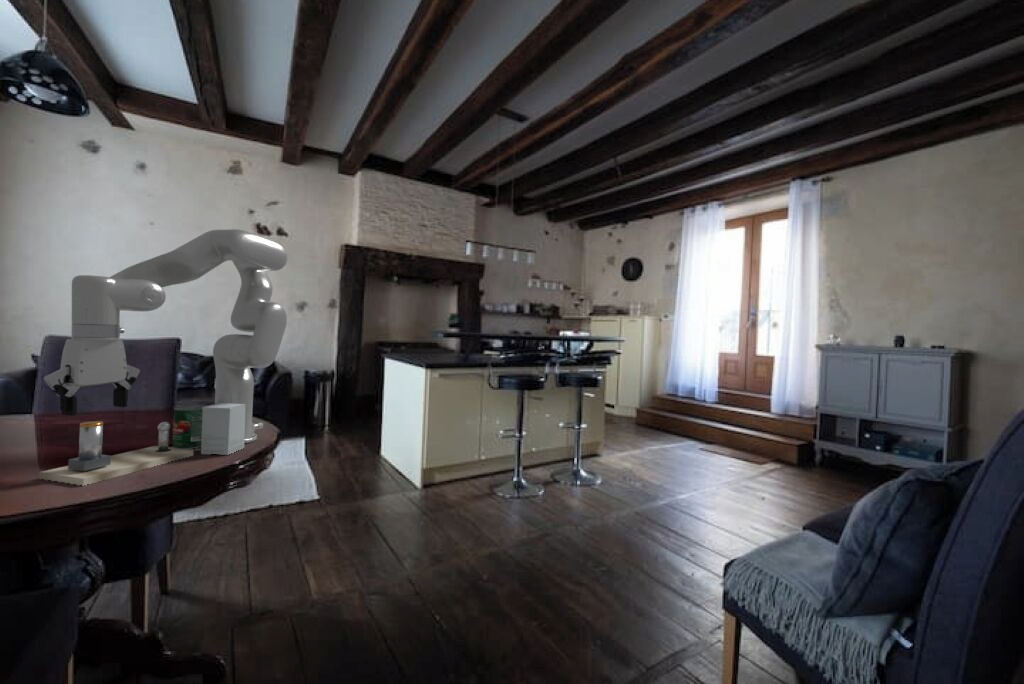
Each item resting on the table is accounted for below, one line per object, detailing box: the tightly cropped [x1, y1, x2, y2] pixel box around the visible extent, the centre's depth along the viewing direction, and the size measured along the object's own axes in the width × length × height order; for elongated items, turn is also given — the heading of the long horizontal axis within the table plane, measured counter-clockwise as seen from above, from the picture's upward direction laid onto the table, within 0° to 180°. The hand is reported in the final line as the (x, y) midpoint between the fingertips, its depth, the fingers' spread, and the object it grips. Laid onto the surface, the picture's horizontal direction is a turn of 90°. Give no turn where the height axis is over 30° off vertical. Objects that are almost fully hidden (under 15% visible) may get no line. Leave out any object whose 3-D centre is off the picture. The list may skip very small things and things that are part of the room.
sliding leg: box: [67, 420, 112, 471], centre depth 94 cm, size 5×4×10 cm
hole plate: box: [39, 445, 194, 487], centre depth 100 cm, size 24×12×2 cm, turn 168°
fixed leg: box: [157, 421, 172, 451], centre depth 109 cm, size 3×3×7 cm
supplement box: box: [200, 403, 246, 456], centre depth 116 cm, size 7×7×13 cm
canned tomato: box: [171, 404, 209, 450], centre depth 120 cm, size 8×8×11 cm
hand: (95, 410), depth 94 cm, fingers open, 9 cm apart
